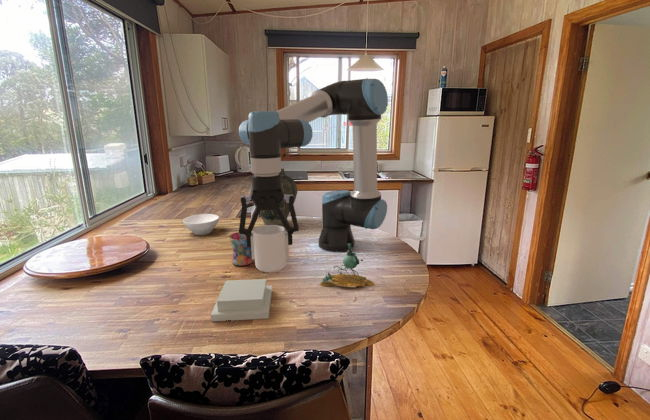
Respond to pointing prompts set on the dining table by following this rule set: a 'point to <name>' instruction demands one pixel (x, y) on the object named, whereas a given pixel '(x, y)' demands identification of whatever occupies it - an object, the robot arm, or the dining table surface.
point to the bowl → (201, 223)
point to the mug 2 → (269, 248)
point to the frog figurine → (347, 280)
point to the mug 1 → (240, 249)
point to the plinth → (244, 313)
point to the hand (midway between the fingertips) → (270, 256)
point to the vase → (287, 188)
